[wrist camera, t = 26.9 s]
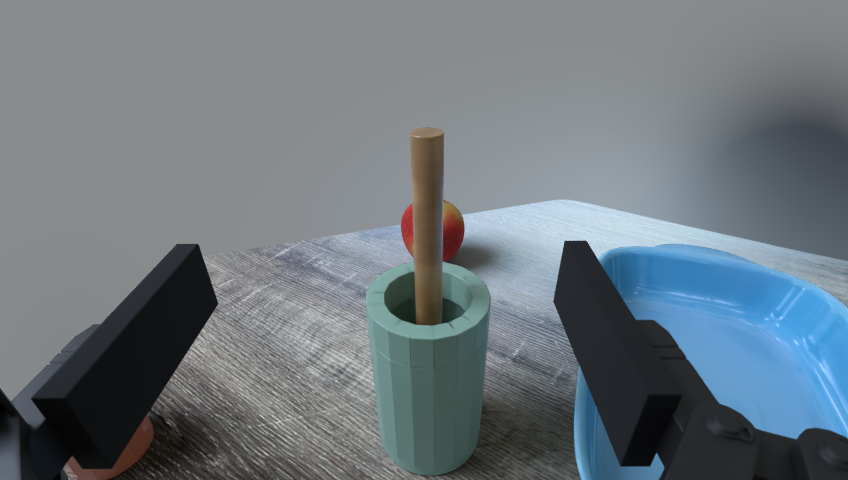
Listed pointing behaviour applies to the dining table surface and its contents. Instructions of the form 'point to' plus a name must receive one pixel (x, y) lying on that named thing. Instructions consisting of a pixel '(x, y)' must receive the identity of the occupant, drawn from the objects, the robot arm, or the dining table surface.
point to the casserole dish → (729, 344)
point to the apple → (451, 230)
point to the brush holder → (129, 456)
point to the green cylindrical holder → (428, 368)
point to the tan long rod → (428, 222)
